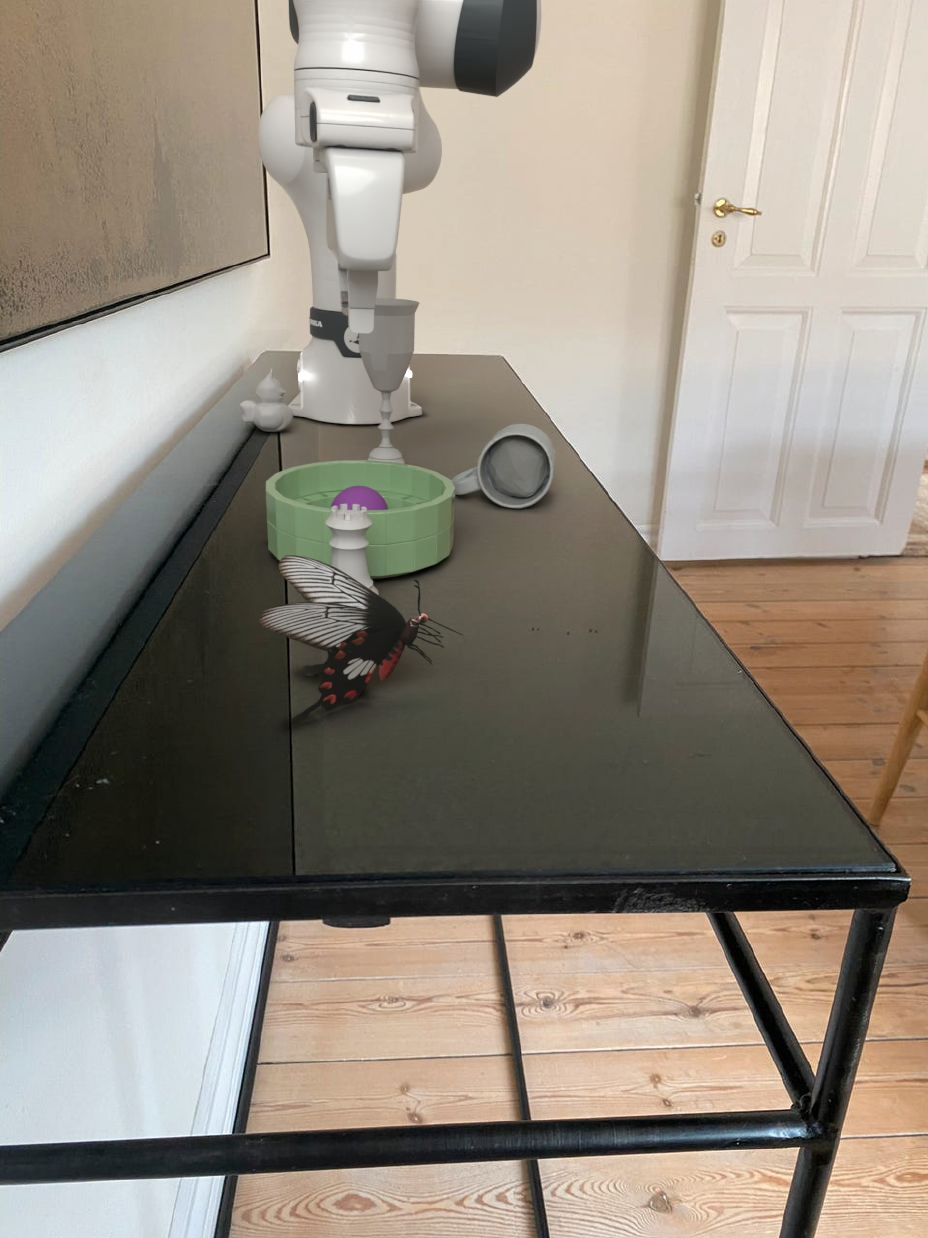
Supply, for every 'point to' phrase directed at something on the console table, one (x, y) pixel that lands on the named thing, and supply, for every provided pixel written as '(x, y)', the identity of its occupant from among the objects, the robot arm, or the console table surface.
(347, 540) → the rook chess piece
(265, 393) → the rubber duck
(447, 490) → the bowl
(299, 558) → the butterfly
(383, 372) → the chalice
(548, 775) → the console table surface
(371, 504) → the ball
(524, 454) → the ceramic mug
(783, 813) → the console table surface
